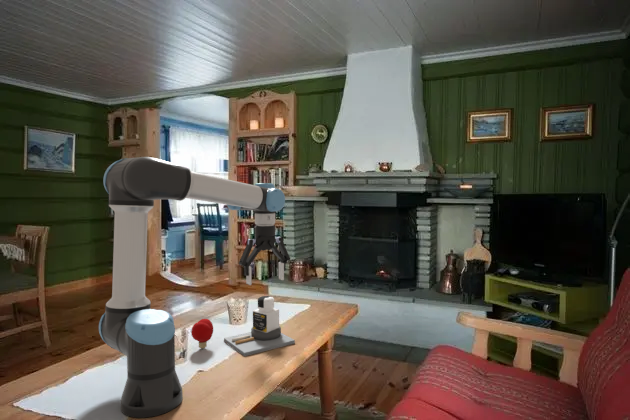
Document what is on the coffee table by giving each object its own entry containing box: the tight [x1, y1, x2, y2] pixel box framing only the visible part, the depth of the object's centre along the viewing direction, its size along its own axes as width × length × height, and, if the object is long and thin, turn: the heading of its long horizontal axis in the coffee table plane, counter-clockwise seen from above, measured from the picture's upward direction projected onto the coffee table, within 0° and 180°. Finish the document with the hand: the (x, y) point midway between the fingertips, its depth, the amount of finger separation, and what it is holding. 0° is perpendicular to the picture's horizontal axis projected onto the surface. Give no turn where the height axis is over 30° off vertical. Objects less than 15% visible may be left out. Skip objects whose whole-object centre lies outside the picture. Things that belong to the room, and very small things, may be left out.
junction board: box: [223, 331, 296, 357], centre depth 152 cm, size 20×17×2 cm
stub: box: [250, 325, 282, 341], centre depth 156 cm, size 11×11×2 cm
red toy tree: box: [190, 318, 214, 350], centre depth 146 cm, size 9×7×10 cm
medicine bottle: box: [252, 295, 280, 333], centre depth 156 cm, size 7×7×12 cm
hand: (265, 282), depth 155 cm, fingers open, 13 cm apart
